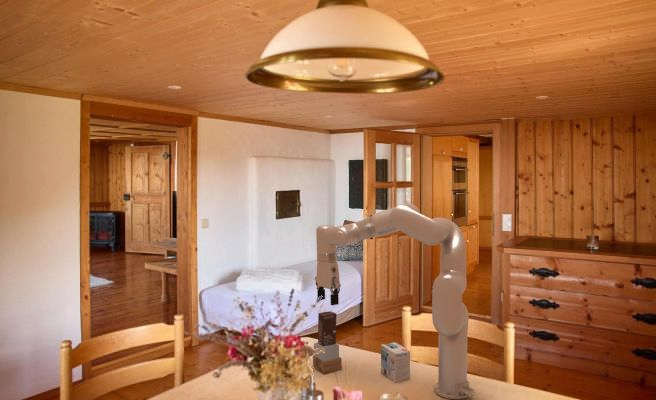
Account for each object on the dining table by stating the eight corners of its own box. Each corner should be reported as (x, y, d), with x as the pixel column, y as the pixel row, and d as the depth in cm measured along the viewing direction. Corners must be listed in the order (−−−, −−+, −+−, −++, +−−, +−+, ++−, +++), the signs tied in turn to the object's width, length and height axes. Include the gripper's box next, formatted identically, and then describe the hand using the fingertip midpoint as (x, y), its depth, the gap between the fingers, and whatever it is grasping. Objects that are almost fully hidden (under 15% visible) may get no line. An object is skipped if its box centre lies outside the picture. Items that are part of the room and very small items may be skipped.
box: (323, 347, 184) (323, 315, 183) (317, 343, 188) (317, 312, 187) (337, 344, 187) (336, 313, 186) (331, 340, 191) (331, 310, 190)
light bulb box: (380, 372, 185) (380, 344, 184) (395, 369, 187) (395, 341, 187) (394, 383, 175) (394, 353, 174) (410, 379, 177) (410, 350, 177)
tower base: (341, 370, 187) (341, 357, 186) (323, 375, 182) (323, 362, 182) (330, 364, 193) (330, 351, 193) (313, 368, 189) (312, 355, 189)
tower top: (339, 357, 187) (339, 344, 187) (323, 361, 183) (323, 348, 183) (328, 352, 193) (328, 339, 192) (313, 355, 189) (313, 343, 188)
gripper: (347, 259, 180) (348, 305, 181) (323, 254, 195) (324, 296, 196) (330, 261, 177) (331, 308, 177) (307, 256, 191) (308, 299, 192)
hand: (327, 302), depth 187 cm, fingers open, 9 cm apart
